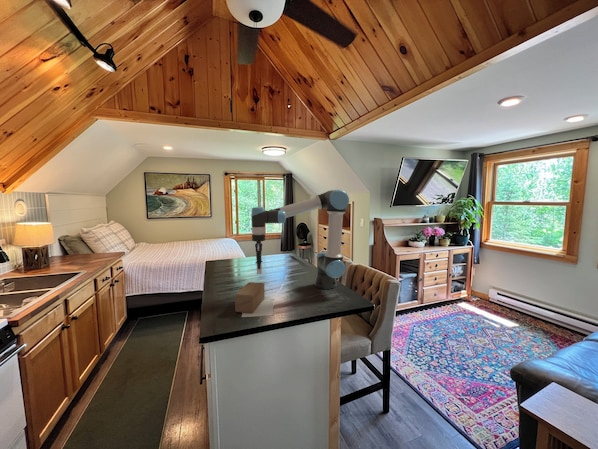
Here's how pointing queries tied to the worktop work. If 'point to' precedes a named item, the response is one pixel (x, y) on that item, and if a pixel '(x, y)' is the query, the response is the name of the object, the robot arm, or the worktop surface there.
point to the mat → (262, 309)
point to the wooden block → (249, 297)
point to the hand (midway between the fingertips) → (259, 273)
